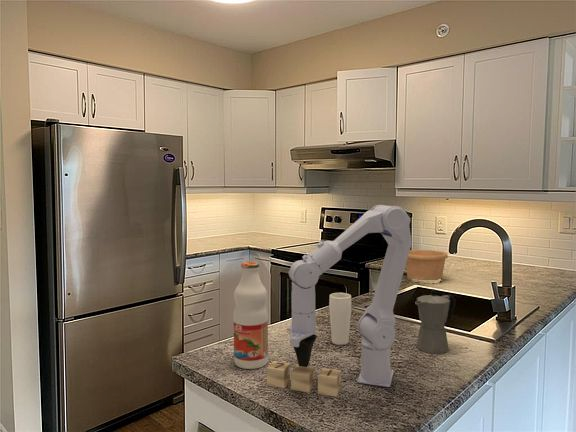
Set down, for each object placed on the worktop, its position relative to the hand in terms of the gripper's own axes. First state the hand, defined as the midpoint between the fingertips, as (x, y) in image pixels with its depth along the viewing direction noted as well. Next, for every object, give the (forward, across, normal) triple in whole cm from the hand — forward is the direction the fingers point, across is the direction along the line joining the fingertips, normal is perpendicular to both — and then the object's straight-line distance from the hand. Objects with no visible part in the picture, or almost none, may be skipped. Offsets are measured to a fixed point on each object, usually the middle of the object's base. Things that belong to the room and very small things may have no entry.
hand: (303, 365), depth 106 cm
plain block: (+5, 0, 0) cm, 5 cm away
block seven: (+5, 0, -7) cm, 9 cm away
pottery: (+6, -132, +24) cm, 134 cm away
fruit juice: (+6, -9, -18) cm, 21 cm away
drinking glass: (+6, -32, +2) cm, 33 cm away
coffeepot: (+6, -37, +30) cm, 48 cm away
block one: (+5, 0, +6) cm, 8 cm away
